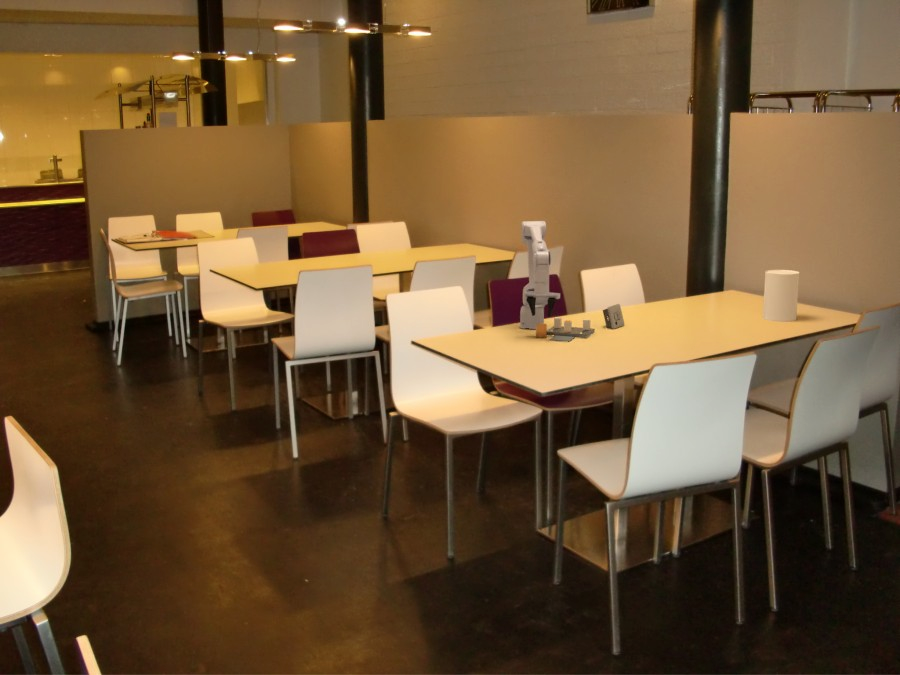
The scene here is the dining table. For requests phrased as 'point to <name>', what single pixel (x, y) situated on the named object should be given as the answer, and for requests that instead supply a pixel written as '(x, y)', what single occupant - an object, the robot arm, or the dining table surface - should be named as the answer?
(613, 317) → the electrical switch
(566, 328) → the block
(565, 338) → the mat
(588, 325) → the block
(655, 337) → the dining table surface
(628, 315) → the dining table surface
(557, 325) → the block
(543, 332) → the cap
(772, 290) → the canister
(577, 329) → the panel
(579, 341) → the dining table surface
